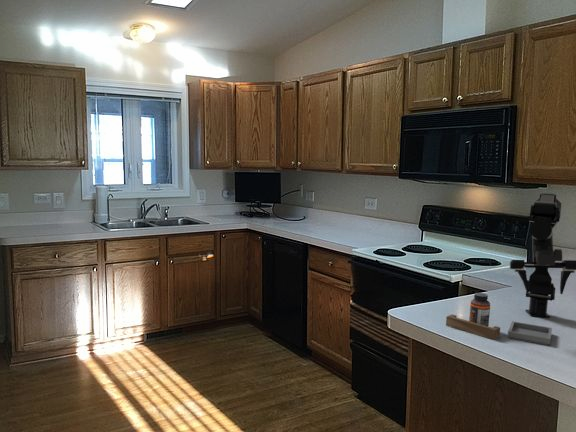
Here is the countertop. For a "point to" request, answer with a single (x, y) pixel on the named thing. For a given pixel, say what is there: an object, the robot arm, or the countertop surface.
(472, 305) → the supplement bottle
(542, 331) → the grey square tray
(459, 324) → the wooden dock
